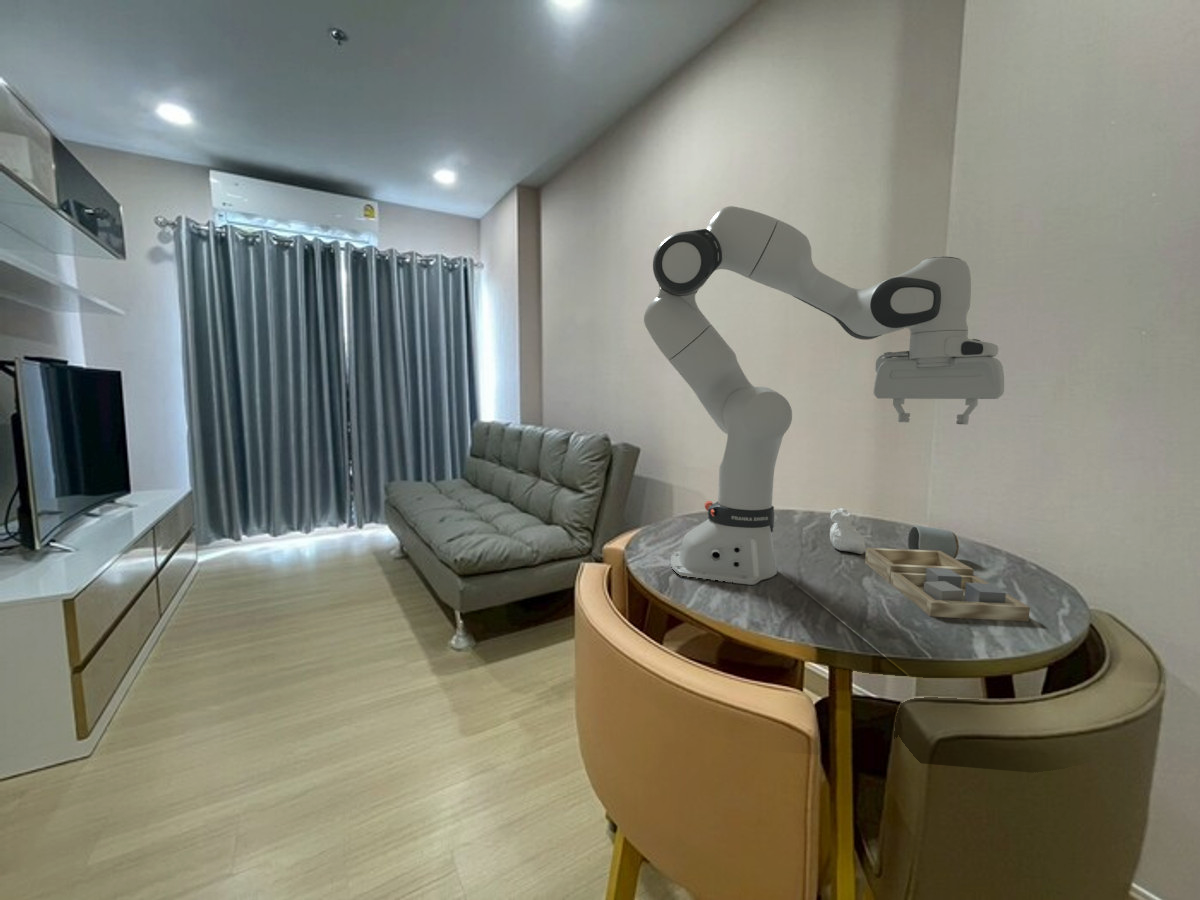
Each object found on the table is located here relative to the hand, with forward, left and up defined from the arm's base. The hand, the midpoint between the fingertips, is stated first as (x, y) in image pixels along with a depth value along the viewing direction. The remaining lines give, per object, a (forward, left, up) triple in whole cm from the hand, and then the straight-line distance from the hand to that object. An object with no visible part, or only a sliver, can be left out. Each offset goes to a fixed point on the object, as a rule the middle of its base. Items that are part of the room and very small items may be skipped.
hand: (931, 423), depth 92 cm
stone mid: (+2, -4, -32) cm, 32 cm away
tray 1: (+2, +5, -32) cm, 33 cm away
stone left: (-2, -11, -32) cm, 34 cm away
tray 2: (+2, -8, -32) cm, 33 cm away
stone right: (+5, -11, -32) cm, 34 cm away
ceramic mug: (+11, +18, -33) cm, 39 cm away
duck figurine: (-6, +22, -33) cm, 39 cm away
